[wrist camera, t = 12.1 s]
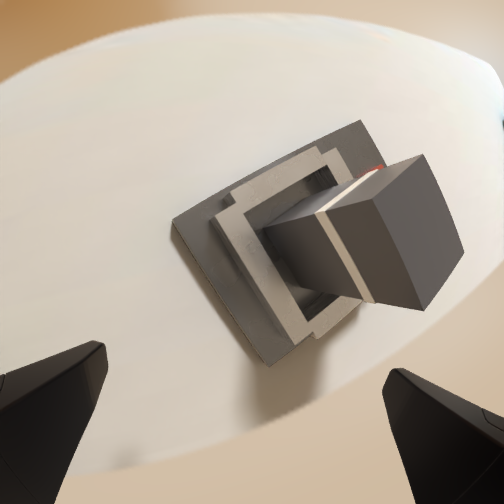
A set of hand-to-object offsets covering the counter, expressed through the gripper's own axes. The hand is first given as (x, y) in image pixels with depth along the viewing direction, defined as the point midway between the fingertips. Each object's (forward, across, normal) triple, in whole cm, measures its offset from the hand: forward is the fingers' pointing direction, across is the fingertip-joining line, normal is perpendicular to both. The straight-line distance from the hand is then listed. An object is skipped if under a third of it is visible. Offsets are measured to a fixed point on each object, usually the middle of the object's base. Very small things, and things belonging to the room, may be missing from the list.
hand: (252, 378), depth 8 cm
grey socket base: (+15, -5, -3) cm, 16 cm away
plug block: (+13, -4, -2) cm, 14 cm away
